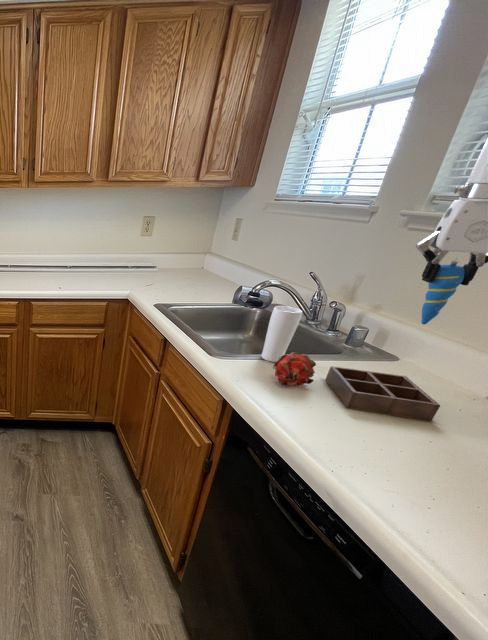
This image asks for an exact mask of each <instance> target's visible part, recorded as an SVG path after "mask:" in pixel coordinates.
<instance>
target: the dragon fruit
mask: <svg viewBox="0 0 488 640" xmlns="http://www.w3.org/2000/svg"><path fill="white" fill-rule="evenodd" d="M315 366H317V363H316V362H315V360H313V359H311V358H310V356H309V355H307V354H306V353H299V352H296V351H292V352H291V353H289V355H288V354H285V355H283V356H281V357H279V360H278V361H277V362H274V364H273V366H272V369H273V370H275V371H274V376H275V377H277V380H278V383H279V384H280V385H281V386H288V385H289V386H292V387H295V386H303V385H304V384H306V385H309V384H312V383H313V382H314V381H315V380H314V379H313V377H314V376H315V375H314V374H315V373H316V372H315V370H314V368H315Z"/></svg>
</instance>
